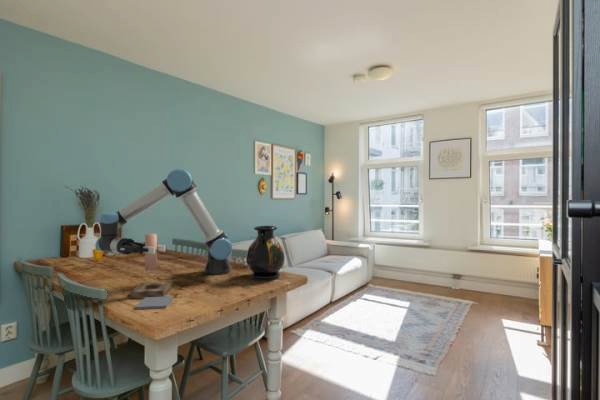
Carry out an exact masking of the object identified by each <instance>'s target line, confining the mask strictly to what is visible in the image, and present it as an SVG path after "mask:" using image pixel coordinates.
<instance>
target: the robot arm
mask: <svg viewBox="0 0 600 400" xmlns="http://www.w3.org/2000/svg"><path fill="white" fill-rule="evenodd" d="M197 189H198V187H197V184H195V182H194V180H193V178H192V175H191V174H190V172H189V171H187V170H186V169H183V168H176V169H173V170H171V171H170V172H169V173H168V174H167V177H166V178H165V179H164V180H161V182H160V184H159V185H157V186H155V188H153V189H151V190H149V191H148V192H147V193H145V194H144V195H142V196H140V197H138V198H137V199H135V200H134V201H132V202H131V203H129V204H127V205H125V206H124V207H122V208H121V209H119V210H118V211H116V212H102V213H101V214H100V220H99V221H100V236H99V238H97V240H96V242H95V248H96V250H98V251H99V252H103V253H112V254H113V253H114V254H117V255H130V254H132V253H133V254H138V253H139V255H143V253H144V254H145V253H152V254H155V247H146V246H145V241H144V242H138V241H135V240H134V239H132V238H128V237H127V238H126V237H119V229H120V228H121V227H123V226H124V225H126V224H127V223H129V222H130V221H132V220H133V219H135V218H136V217H138V216H139V215H141V214H143V213H145V212H146V211H148V210H149V209H151V208H153V207H154V206H156V205H157V204H159V203H160V202H161V201H163V200H165V199H166V198H168V197H173V196H175V198H176V199H178V200H181V202H182V203H183V205H184V207H185V208H186V210H187V211H188V214H189V215H190V216H191V217H192V219H193V221H194V223H195V224H196V226H197V227H198V230H199V231H200V233H201V234H202V235H203V237H204V239H203V240H204V241H203V243H204V245H205V246H206V247H207V248H206V249H207V251H206V253H207V256H206V257H207V259H206V262H205V264H204V265H205V266H204V269H203V271H204V272H203V273H205V275H212V276H213V275H214V276H215V275H225V274H227V273H230V272H231V265H230V262H229V259H228V258H229V257H230V256H231V254H232V252H233V244H232V242H231V241H230V240H229V238H228V237H229V236H228V233H227V232H224V230H222V229H219V228H218V226H217V224H216V222H215V221H214V220H213V217H212V216H211V214H210V213H209V211H208V209H207V208H206V206H205V204H204V203H203V201H202V199H201V197H200V196H199V194H198V193H197ZM157 252H166V245H165V244H164V245H163V244H159V243H157Z"/></svg>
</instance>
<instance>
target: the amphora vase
mask: <svg viewBox="0 0 600 400" xmlns="http://www.w3.org/2000/svg"><path fill="white" fill-rule="evenodd" d="M253 230H255V231H256V232H257V235H256V238H255V239H254V240H253V242H252V243H250V245H249V247H248V248H247V252H246V257H245V263H246V266H247V268H248V269H249V270H250V271H251V273H250V277H251V279H254V280H259V281H270V280H276V279H278V278H280V276H281V272H280V271H281V269H282V268H283V267H284V264H285V261H286V260H285V259H286V256H285V251H284V249H283V247H282V244H281V243H280V242H279V241H278V240H277V239H276V238H275V236H274V235H275V234H274V232H275V231H276V230H278V227H277V226H274V225H258V226H254V227H253Z"/></svg>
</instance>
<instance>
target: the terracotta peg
mask: <svg viewBox="0 0 600 400" xmlns="http://www.w3.org/2000/svg"><path fill="white" fill-rule="evenodd" d="M144 242H145V246H146V247H155V254H152V253H144V270H145V271H146V272H147V271H156V270H157V269H158V251H157V244H158V233H145V234H144Z"/></svg>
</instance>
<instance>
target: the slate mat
mask: <svg viewBox="0 0 600 400" xmlns="http://www.w3.org/2000/svg"><path fill="white" fill-rule="evenodd" d="M174 298H175V296H174V295H173V296H172V295H171V296H170V295H169V296H168V295H167V296H166V295H165V296H164V297H145V298H142V300H141V301H140V302H138V303H137V305H135V306H134V310H153V309H154V310H155V309H156V310H157V309H159V310H160V309H167V306H168V307H169V305H170V304H171V303H172V302H173V300H174Z"/></svg>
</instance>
